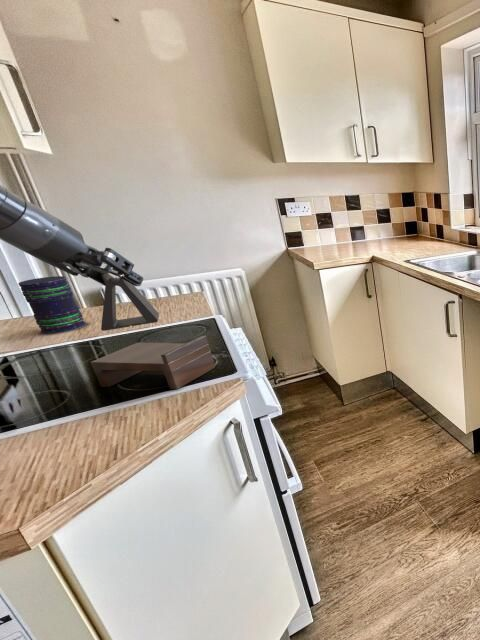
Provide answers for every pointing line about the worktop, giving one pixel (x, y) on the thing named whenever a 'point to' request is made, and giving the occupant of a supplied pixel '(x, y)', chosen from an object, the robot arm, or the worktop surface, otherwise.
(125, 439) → the worktop surface
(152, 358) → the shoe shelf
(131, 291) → the phone stand
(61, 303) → the blue green striped cylinder
